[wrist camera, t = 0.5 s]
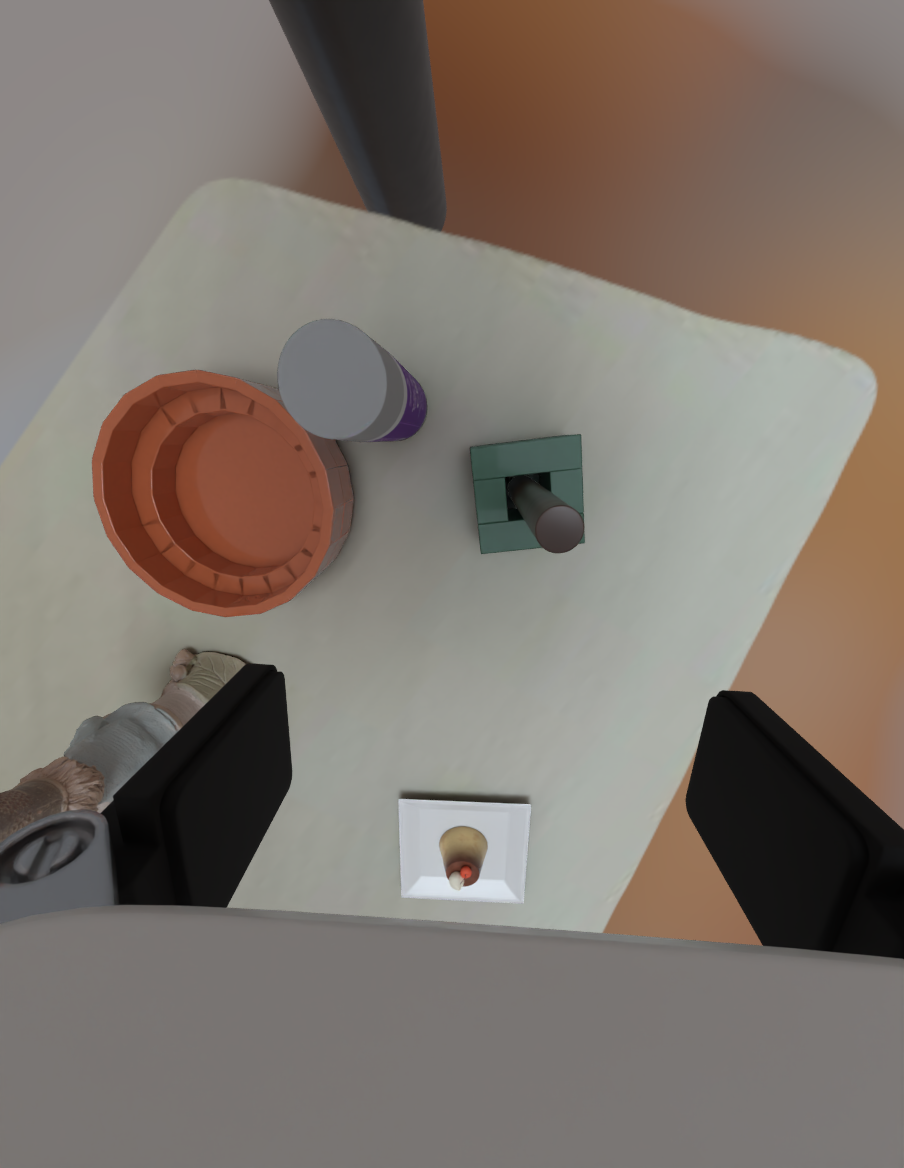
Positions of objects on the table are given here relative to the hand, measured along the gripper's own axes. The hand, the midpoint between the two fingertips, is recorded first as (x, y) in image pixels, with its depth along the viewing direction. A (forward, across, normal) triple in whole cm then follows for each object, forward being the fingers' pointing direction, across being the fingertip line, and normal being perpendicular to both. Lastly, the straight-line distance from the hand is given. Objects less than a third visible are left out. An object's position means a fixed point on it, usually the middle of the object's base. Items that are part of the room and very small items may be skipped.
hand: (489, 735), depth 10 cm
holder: (+26, -3, -3) cm, 26 cm away
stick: (+26, -3, -3) cm, 26 cm away
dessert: (+26, 0, +31) cm, 41 cm away
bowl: (+26, +17, -2) cm, 31 cm away
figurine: (+26, +22, +15) cm, 38 cm away
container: (+26, +6, -8) cm, 28 cm away
